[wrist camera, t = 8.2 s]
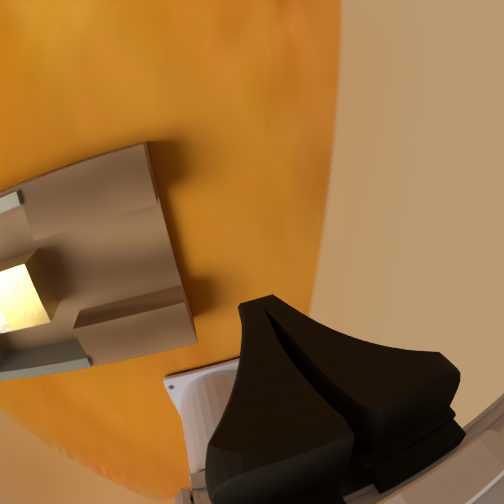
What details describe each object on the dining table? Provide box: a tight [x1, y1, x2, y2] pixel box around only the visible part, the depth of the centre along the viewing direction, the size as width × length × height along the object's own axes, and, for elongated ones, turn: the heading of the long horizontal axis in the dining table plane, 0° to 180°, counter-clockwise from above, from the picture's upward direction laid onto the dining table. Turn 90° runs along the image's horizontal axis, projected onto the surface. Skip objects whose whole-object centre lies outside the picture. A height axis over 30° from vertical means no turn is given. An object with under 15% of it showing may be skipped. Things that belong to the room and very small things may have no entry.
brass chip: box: [0, 248, 61, 331], centre depth 16 cm, size 4×4×2 cm
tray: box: [0, 189, 92, 381], centre depth 16 cm, size 12×10×2 cm
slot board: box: [0, 142, 198, 366], centre depth 17 cm, size 12×17×3 cm
